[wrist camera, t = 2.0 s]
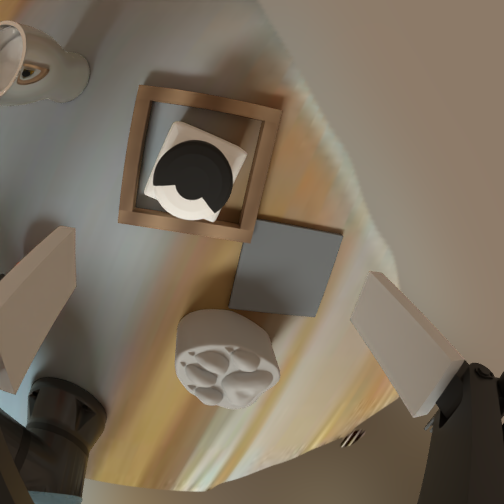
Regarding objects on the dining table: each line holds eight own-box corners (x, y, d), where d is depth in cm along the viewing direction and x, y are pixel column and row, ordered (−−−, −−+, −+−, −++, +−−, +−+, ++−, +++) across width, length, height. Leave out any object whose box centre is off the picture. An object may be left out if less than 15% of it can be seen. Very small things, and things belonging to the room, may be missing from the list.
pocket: (121, 218, 34) (117, 222, 33) (142, 86, 29) (139, 84, 27) (248, 237, 38) (250, 243, 36) (278, 111, 32) (282, 110, 31)
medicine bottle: (180, 120, 31) (167, 119, 20) (240, 146, 33) (258, 159, 22) (153, 180, 33) (130, 209, 22) (212, 204, 35) (216, 244, 25)
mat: (228, 305, 41) (228, 308, 40) (248, 217, 37) (249, 218, 36) (313, 314, 43) (314, 317, 43) (341, 234, 39) (343, 236, 39)
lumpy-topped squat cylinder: (234, 380, 47) (241, 423, 39) (161, 343, 42) (155, 388, 34) (279, 336, 44) (294, 379, 36) (203, 291, 40) (205, 333, 32)
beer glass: (88, 106, 29) (18, 103, 15) (37, 107, 27) (-44, 111, 14) (99, 47, 26) (38, 10, 13) (47, 51, 25) (-28, 27, 11)
